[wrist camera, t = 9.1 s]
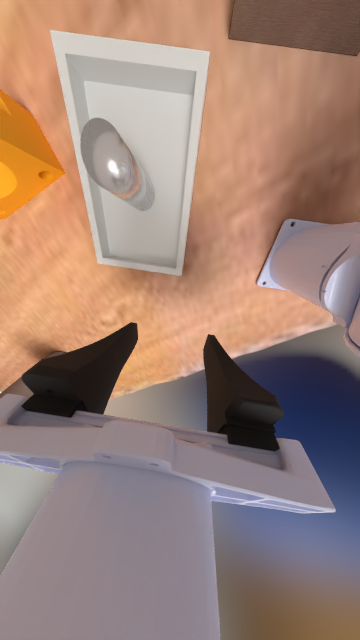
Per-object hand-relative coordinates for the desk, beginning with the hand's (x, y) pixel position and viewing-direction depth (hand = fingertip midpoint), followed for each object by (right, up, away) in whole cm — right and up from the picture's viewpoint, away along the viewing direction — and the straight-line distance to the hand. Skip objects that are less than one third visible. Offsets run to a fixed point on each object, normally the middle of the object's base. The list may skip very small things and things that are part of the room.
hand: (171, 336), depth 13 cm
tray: (-4, +16, +2) cm, 17 cm away
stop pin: (-4, +16, +2) cm, 17 cm away
